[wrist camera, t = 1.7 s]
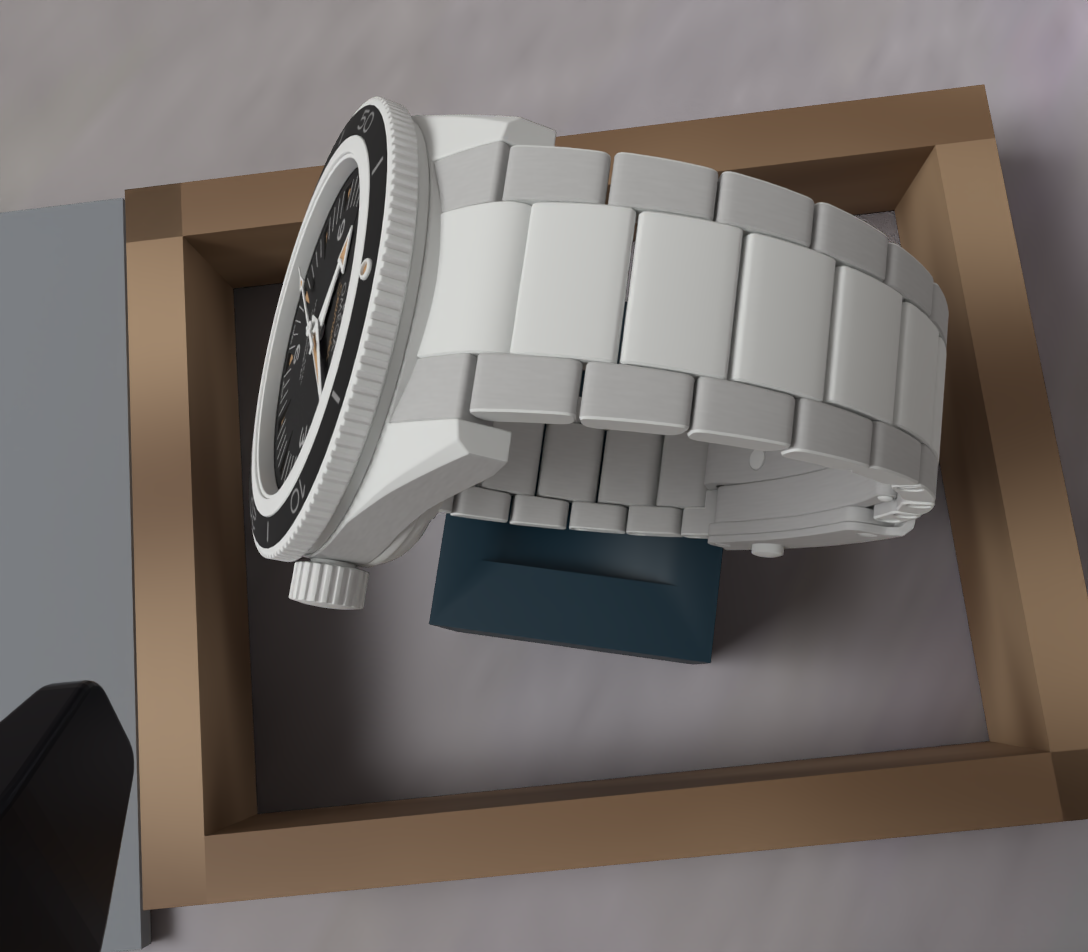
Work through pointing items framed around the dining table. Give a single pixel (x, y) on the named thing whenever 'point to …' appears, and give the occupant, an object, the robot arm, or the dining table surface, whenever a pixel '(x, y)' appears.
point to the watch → (582, 382)
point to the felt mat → (70, 485)
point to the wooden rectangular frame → (632, 802)
